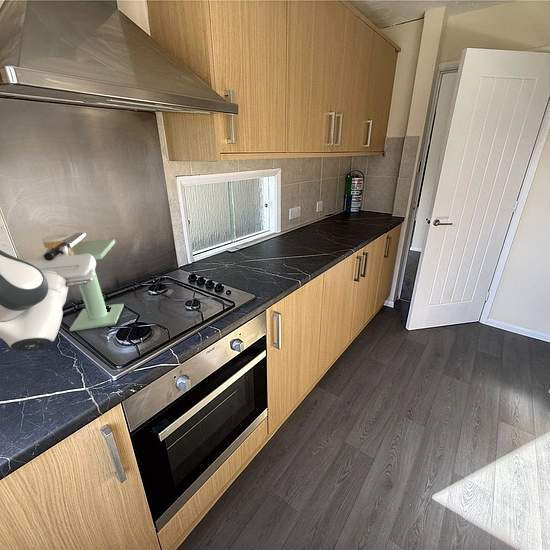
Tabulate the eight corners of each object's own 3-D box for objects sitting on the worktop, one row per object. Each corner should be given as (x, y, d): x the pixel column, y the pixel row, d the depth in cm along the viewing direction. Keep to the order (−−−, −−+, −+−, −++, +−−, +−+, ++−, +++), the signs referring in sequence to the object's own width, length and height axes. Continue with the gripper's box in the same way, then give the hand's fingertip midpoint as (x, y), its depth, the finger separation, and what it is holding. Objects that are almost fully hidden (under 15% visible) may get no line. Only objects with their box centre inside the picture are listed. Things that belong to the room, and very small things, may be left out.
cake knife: (56, 260, 77) (53, 252, 76) (43, 261, 77) (40, 254, 76) (86, 235, 100) (84, 230, 99) (76, 236, 99) (74, 230, 98)
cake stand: (120, 326, 99) (97, 241, 88) (59, 336, 95) (25, 248, 83) (130, 302, 115) (111, 227, 104) (78, 309, 111) (52, 232, 99)
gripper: (87, 275, 74) (94, 236, 82) (-9, 286, 69) (8, 244, 77) (96, 289, 79) (102, 252, 87) (7, 300, 74) (22, 259, 82)
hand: (57, 248), depth 82 cm, fingers closed on cake knife, 2 cm apart
